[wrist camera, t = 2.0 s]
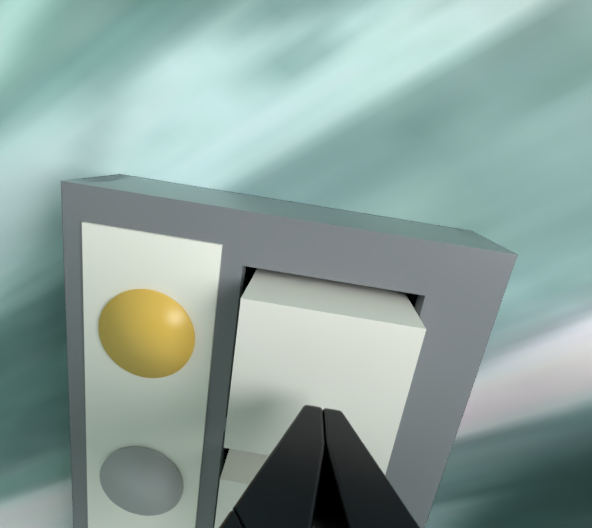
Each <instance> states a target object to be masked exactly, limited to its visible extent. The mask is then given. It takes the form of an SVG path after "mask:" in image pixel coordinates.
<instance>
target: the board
mask: <svg viewBox="0 0 592 528" xmlns="http://www.w3.org/2000/svg"><path fill="white" fill-rule="evenodd" d="M61 195H62V223H63V250H64V278H65V306H66V334H67V362H68V390H69V418H70V446H71V473H72V501H73V528H214V526H215V518H216V509H217V500H218V492H219V483H220V477H221V474H222V467H223V459H224V450H225V448H224V440H225V431H226V422H227V414H228V405H229V396H230V388H231V379H232V370H233V362H234V353H235V344H236V335H237V327H238V318H239V309H240V301H241V297H242V295H243V287H244V279H245V270H246V266H248V267H254V268H260V269H266V270H272V271H278V272H284V273H290V274H296V275H302V276H308V277H315V278H321V279H327V280H333V281H339V282H345V283H351V284H357V285H363V286H369V287H375V288H381V289H387V290H394V291H400V292H406V293H412V294H418V296H417V300H416V304H415V307H414V309H415V311H416V312H417V314H418V316H419V317H420V319H421V321H422V323H423V324H424V326H425V328H426V332H425V336H424V340H423V343H422V347H421V350H420V354H419V357H418V361H417V364H416V368H415V371H414V375H413V378H412V382H411V386H410V389H409V393H408V396H407V400H406V403H405V407H404V410H403V414H402V417H401V421H400V424H399V428H398V432H397V435H396V439H395V442H394V446H393V449H392V453H391V456H390V460H389V463H388V467H387V470H386V474H385V476H386V478H387V479H388V481H389V482H390V483H391V485H392V486H393V488H394V489H395V491H396V492H397V494H398V495H399V497H400V498H401V500H402V501H403V503H404V504H405V506H406V507H407V509H408V510H409V512H410V513H411V515H412V516H413V518H414V519H415V521H416V522H417V524H418V525H419V526H420V528H425V525H426V522H427V519H428V516H429V513H430V510H431V507H432V504H433V501H434V498H435V495H436V492H437V490H438V487H439V484H440V481H441V478H442V475H443V472H444V469H445V466H446V463H447V460H448V457H449V454H450V451H451V448H452V446H453V443H454V440H455V437H456V434H457V431H458V428H459V425H460V422H461V419H462V416H463V413H464V410H465V407H466V404H467V401H468V399H469V396H470V393H471V390H472V387H473V384H474V381H475V378H476V375H477V372H478V369H479V366H480V363H481V360H482V357H483V355H484V352H485V349H486V346H487V343H488V340H489V337H490V334H491V331H492V328H493V325H494V322H495V319H496V316H497V313H498V310H499V308H500V305H501V302H502V299H503V296H504V293H505V290H506V287H507V284H508V281H509V278H510V275H511V272H512V269H513V266H514V263H515V261H516V258H517V254H515V253H513V252H511V251H510V250H508V249H506V248H504V247H502V246H500V245H498V244H496V243H494V242H492V241H490V240H489V239H487V238H485V237H483V236H481V235H479V234H477V233H475V232H473V231H470V230H463V229H457V228H451V227H445V226H438V225H432V224H426V223H420V222H414V221H407V220H401V219H395V218H389V217H382V216H376V215H370V214H364V213H358V212H351V211H345V210H339V209H333V208H327V207H320V206H314V205H308V204H302V203H295V202H289V201H283V200H277V199H271V198H264V197H258V196H252V195H246V194H240V193H233V192H227V191H221V190H215V189H208V188H202V187H196V186H190V185H184V184H177V183H171V182H165V181H159V180H152V179H146V178H140V177H134V176H128V175H121V174H118V175H109V176H100V177H91V178H82V179H73V180H64V181H61Z"/></svg>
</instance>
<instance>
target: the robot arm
mask: <svg viewBox="0 0 592 528" xmlns="http://www.w3.org/2000/svg"><path fill="white" fill-rule="evenodd" d="M219 528H420V526H419V525H418V524H417V522H416V521H415V519H414V518H413V516H412V515H411V513H410V512H409V510H408V509H407V507H406V506H405V504H404V503H403V501H402V500H401V498H400V497H399V495H398V494H397V492H396V491H395V489H394V488H393V486H392V485H391V483H390V482H389V481H388V479H387V478H386V476H385V475H384V473H383V472H382V470H381V469H380V467H379V466H378V464H377V463H376V461H375V460H374V458H373V457H372V455H371V454H370V452H369V451H368V449H367V448H366V446H365V445H364V443H363V442H362V440H361V439H360V438H359V436H358V435H357V433H356V432H355V430H354V429H353V427H352V426H351V424H350V423H349V421H348V420H347V418H346V417H345V415H344V414H343V412H341V411H340V410H335V409H329V408H324V409H323V410H322V408H321V407H317V406H311V405H304V406H303V408H302V409H301V410H300V412H299V413H298V415H297V416H296V418H295V419H294V421H293V422H292V423H291V425H290V426H289V428H288V429H287V431H286V432H285V434H284V435H283V436H282V438H281V439H280V441H279V442H278V444H277V445H276V446H275V448H274V449H273V451H272V452H271V454H270V455H269V457H268V458H267V459H266V461H265V462H264V464H263V465H262V467H261V468H260V469H259V471H258V472H257V474H256V475H255V477H254V478H253V480H252V481H251V482H250V484H249V485H248V487H247V488H246V490H245V491H244V493H243V494H242V495H241V497H240V498H239V500H238V501H237V503H236V504H235V505H234V507H233V509H232V511H230V512H229V514H228V515H227V517H226V518H225V519H224V521H223V522H222V524H221V525H220V527H219Z"/></svg>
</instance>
